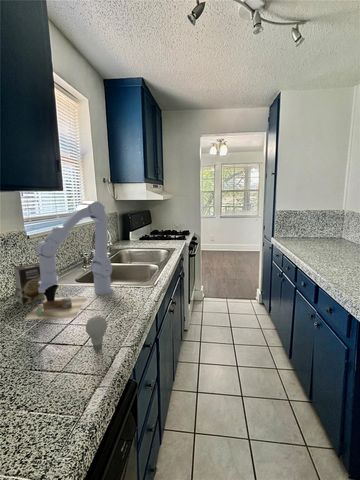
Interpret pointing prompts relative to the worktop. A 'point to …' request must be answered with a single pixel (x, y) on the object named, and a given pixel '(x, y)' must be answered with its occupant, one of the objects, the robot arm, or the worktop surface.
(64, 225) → the robot arm
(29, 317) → the dial board
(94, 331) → the lightbulb
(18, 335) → the worktop surface
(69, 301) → the lever
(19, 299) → the coffee box
